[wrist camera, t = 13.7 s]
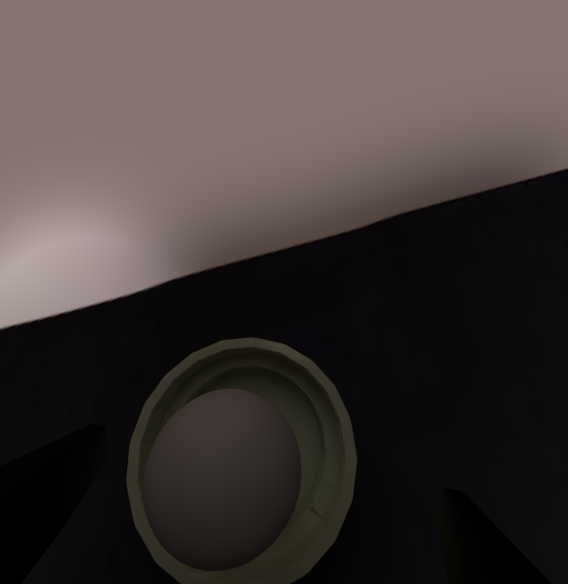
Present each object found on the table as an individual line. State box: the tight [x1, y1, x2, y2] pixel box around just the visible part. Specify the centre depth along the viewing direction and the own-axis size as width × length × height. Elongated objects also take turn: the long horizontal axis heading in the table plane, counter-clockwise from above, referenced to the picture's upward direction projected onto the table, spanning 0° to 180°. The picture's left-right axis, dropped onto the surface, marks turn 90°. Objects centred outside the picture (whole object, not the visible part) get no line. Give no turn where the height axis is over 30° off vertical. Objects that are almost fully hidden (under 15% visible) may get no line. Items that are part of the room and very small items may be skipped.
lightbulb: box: [143, 389, 302, 571], centre depth 14 cm, size 6×6×11 cm
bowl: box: [126, 338, 357, 584], centre depth 18 cm, size 12×12×4 cm
